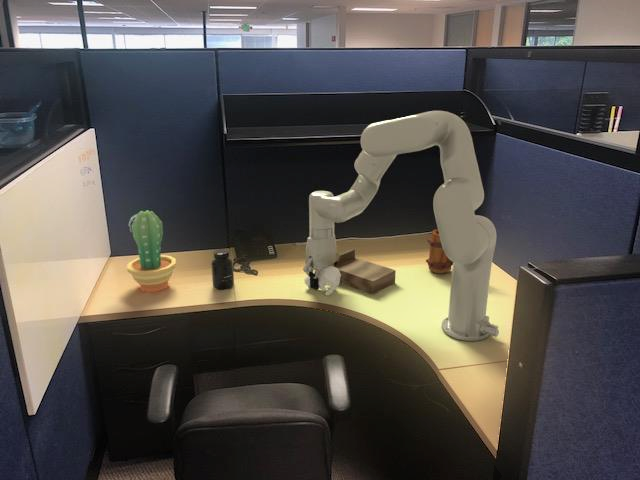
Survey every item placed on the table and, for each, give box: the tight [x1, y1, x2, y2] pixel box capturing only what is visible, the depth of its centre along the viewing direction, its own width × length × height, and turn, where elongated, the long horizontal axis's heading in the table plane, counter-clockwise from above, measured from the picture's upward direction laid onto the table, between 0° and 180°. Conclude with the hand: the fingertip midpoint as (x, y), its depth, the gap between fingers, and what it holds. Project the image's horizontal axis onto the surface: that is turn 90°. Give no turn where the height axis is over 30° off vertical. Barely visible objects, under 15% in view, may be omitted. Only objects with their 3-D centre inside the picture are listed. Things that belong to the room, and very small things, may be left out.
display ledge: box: [336, 248, 397, 295], centre depth 169 cm, size 18×12×8 cm, turn 47°
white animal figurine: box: [304, 266, 341, 296], centre depth 162 cm, size 6×8×12 cm
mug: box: [425, 229, 453, 274], centre depth 174 cm, size 15×8×15 cm, turn 62°
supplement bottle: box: [210, 248, 235, 291], centre depth 165 cm, size 7×7×12 cm
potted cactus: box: [126, 209, 177, 293], centre depth 164 cm, size 15×15×25 cm
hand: (322, 284), depth 163 cm, fingers closed on white animal figurine, 6 cm apart
